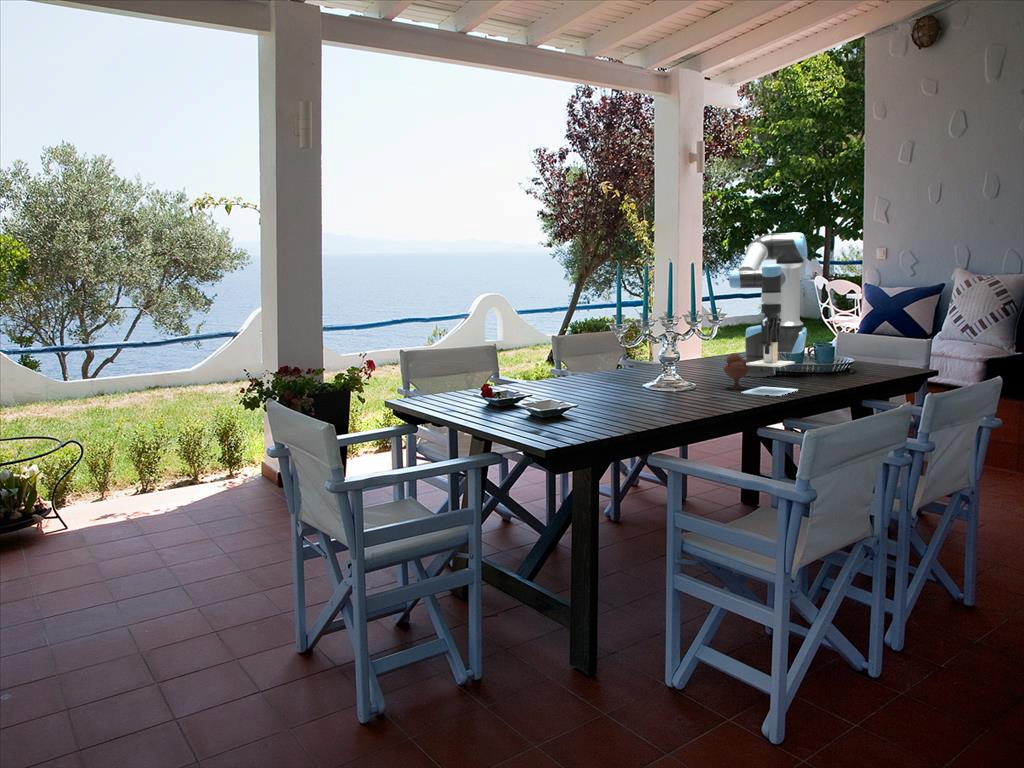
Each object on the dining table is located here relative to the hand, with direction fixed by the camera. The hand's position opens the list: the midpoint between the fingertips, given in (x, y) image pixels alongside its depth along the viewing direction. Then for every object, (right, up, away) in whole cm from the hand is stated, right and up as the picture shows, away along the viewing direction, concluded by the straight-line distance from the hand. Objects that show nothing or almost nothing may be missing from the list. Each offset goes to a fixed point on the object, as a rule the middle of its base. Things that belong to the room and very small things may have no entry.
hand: (770, 361), depth 342 cm
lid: (0, -1, 0) cm, 1 cm away
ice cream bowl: (-10, -11, +14) cm, 21 cm away
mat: (0, -12, +2) cm, 13 cm away
